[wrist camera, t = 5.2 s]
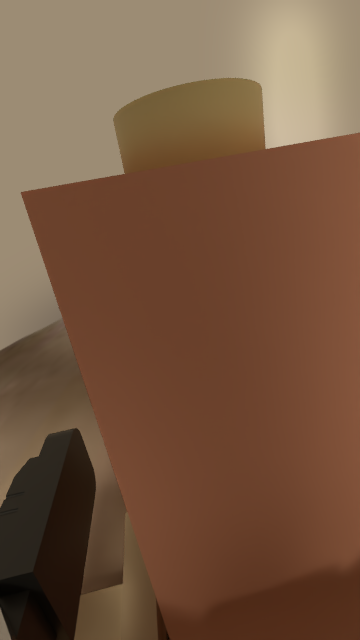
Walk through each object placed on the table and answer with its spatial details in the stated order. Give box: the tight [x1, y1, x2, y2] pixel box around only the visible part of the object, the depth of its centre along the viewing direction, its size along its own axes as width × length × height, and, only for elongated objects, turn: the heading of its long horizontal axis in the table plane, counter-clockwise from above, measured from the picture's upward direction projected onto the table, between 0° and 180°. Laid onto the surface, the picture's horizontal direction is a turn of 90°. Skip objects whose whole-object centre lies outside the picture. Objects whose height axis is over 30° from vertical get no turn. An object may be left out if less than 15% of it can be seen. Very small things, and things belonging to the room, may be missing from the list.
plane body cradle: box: [74, 512, 167, 640], centre depth 10 cm, size 23×9×2 cm, turn 98°
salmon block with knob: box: [21, 78, 360, 640], centre depth 8 cm, size 4×4×16 cm
